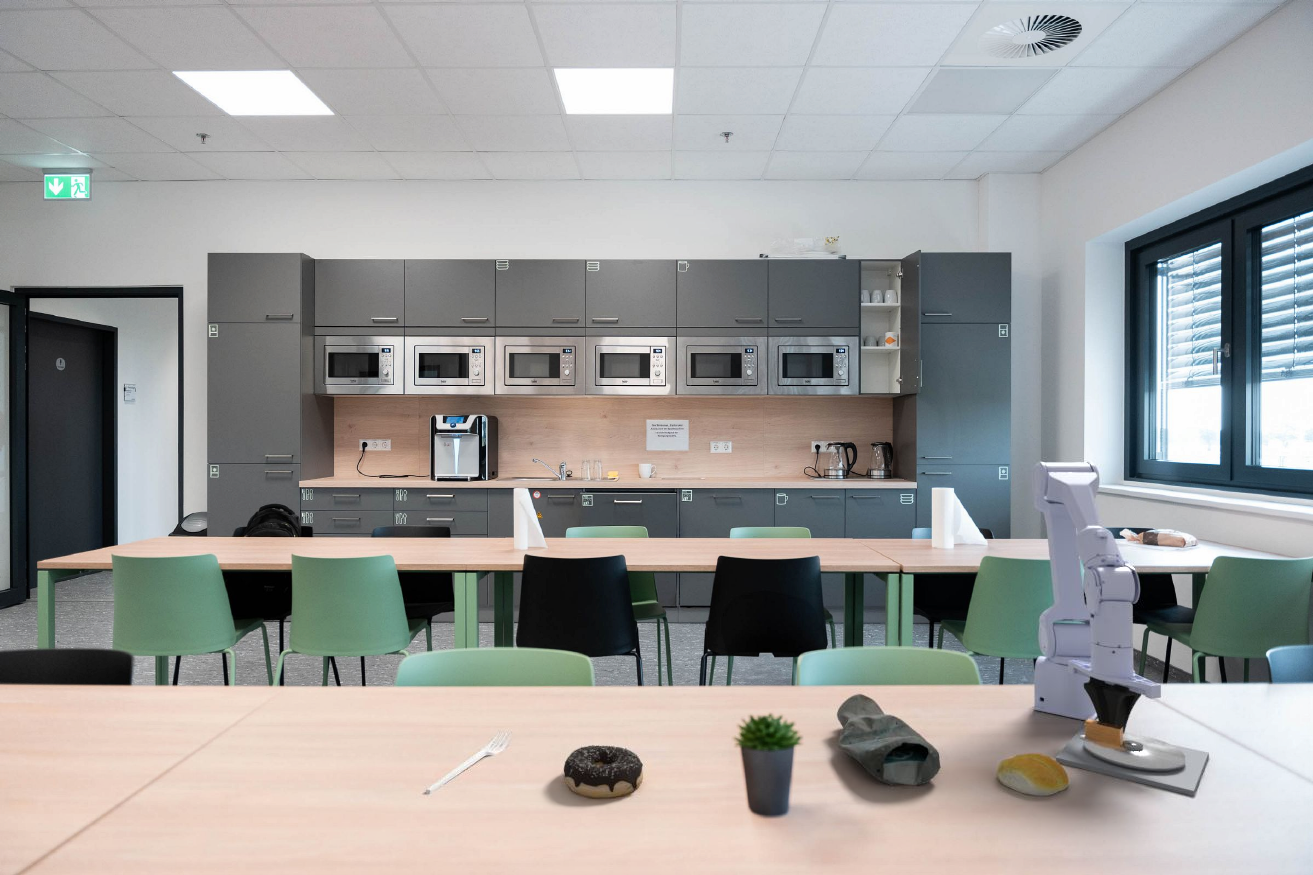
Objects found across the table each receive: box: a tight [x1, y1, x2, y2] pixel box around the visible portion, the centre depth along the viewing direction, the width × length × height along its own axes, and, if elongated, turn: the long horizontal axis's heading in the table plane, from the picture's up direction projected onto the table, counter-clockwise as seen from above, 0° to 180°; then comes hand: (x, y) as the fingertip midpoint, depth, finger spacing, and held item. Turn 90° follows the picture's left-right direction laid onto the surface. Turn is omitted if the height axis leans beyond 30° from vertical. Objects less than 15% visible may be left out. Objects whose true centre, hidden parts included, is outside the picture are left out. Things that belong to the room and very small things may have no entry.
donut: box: [563, 744, 644, 799], centre depth 109 cm, size 11×12×4 cm
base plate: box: [1055, 725, 1210, 797], centre depth 117 cm, size 17×17×1 cm
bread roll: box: [996, 752, 1070, 797], centre depth 109 cm, size 8×9×4 cm
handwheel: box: [1083, 719, 1185, 771], centre depth 117 cm, size 13×13×3 cm
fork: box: [425, 730, 513, 795], centre depth 115 cm, size 3×20×2 cm, turn 160°
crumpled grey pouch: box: [836, 693, 941, 787], centre depth 119 cm, size 13×7×25 cm
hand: (1112, 731), depth 121 cm, fingers closed
